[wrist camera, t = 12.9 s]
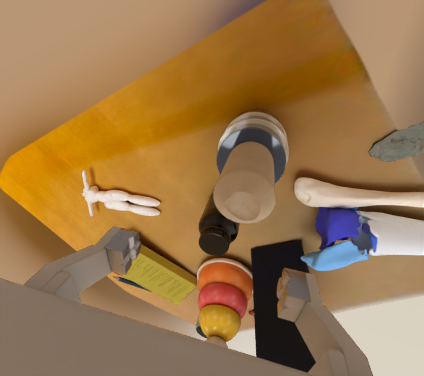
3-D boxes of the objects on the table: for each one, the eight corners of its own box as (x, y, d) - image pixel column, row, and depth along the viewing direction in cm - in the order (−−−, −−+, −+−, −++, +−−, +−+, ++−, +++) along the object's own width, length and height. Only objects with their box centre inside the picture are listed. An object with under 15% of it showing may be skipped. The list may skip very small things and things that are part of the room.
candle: (221, 172, 28) (201, 218, 19) (238, 133, 25) (223, 167, 16) (260, 189, 28) (257, 243, 19) (282, 152, 25) (289, 196, 16)
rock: (364, 144, 32) (376, 170, 34) (370, 148, 31) (383, 175, 32) (438, 107, 29) (447, 138, 30) (450, 110, 27) (459, 142, 28)
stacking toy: (190, 275, 57) (158, 361, 40) (215, 243, 49) (188, 333, 33) (236, 300, 57) (223, 395, 41) (268, 273, 50) (268, 376, 33)
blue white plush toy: (453, 294, 33) (540, 270, 24) (285, 273, 36) (306, 244, 27) (417, 222, 41) (472, 183, 32) (281, 209, 44) (296, 171, 35)
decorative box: (250, 248, 47) (265, 264, 53) (261, 468, 27) (283, 457, 33) (301, 239, 43) (311, 257, 48) (359, 495, 23) (365, 476, 28)
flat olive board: (120, 241, 48) (203, 290, 55) (125, 234, 50) (204, 282, 57) (100, 264, 54) (177, 305, 61) (105, 257, 56) (179, 297, 63)
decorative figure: (159, 187, 43) (72, 172, 44) (158, 232, 49) (82, 218, 50) (164, 179, 46) (82, 165, 47) (163, 222, 52) (91, 209, 53)
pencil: (163, 292, 63) (114, 275, 57) (161, 295, 63) (112, 278, 57) (162, 291, 64) (113, 274, 58) (161, 294, 63) (111, 278, 58)
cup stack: (230, 102, 34) (216, 116, 25) (292, 112, 33) (302, 130, 23) (223, 159, 39) (208, 188, 30) (276, 169, 37) (279, 202, 28)
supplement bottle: (205, 208, 45) (186, 250, 35) (215, 182, 42) (198, 220, 31) (235, 221, 45) (225, 266, 35) (248, 196, 41) (241, 238, 31)
